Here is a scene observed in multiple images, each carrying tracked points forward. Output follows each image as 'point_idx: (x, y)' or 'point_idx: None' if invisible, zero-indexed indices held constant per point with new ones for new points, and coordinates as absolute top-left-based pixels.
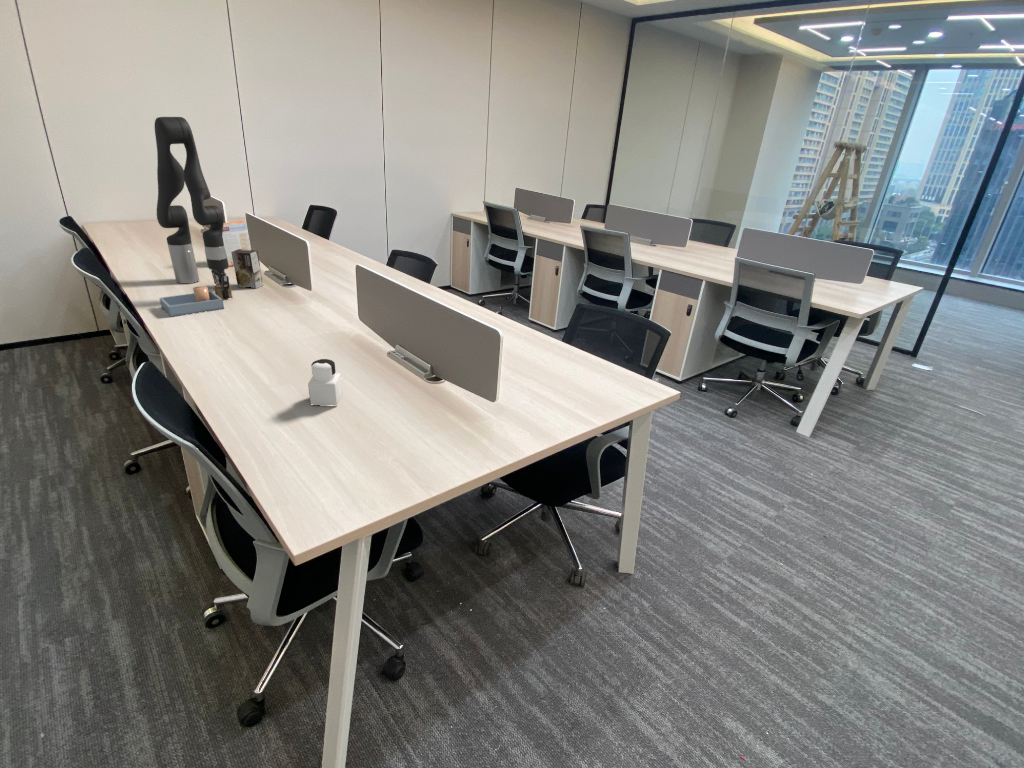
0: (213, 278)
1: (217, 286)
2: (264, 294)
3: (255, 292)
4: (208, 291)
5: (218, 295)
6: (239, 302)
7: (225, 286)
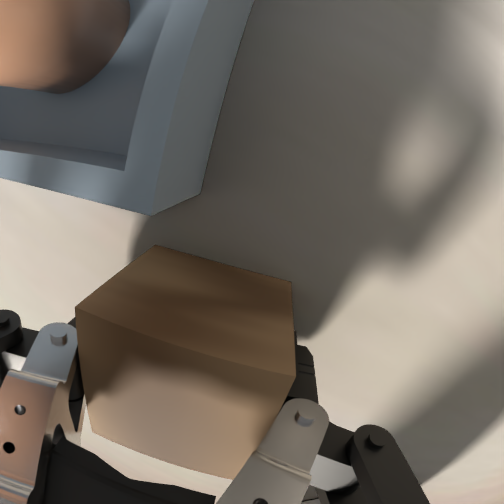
0: (416, 495)
1: (204, 387)
2: (129, 469)
3: (196, 480)
4: (146, 158)
5: (150, 267)
6: (30, 306)
7: (141, 430)
